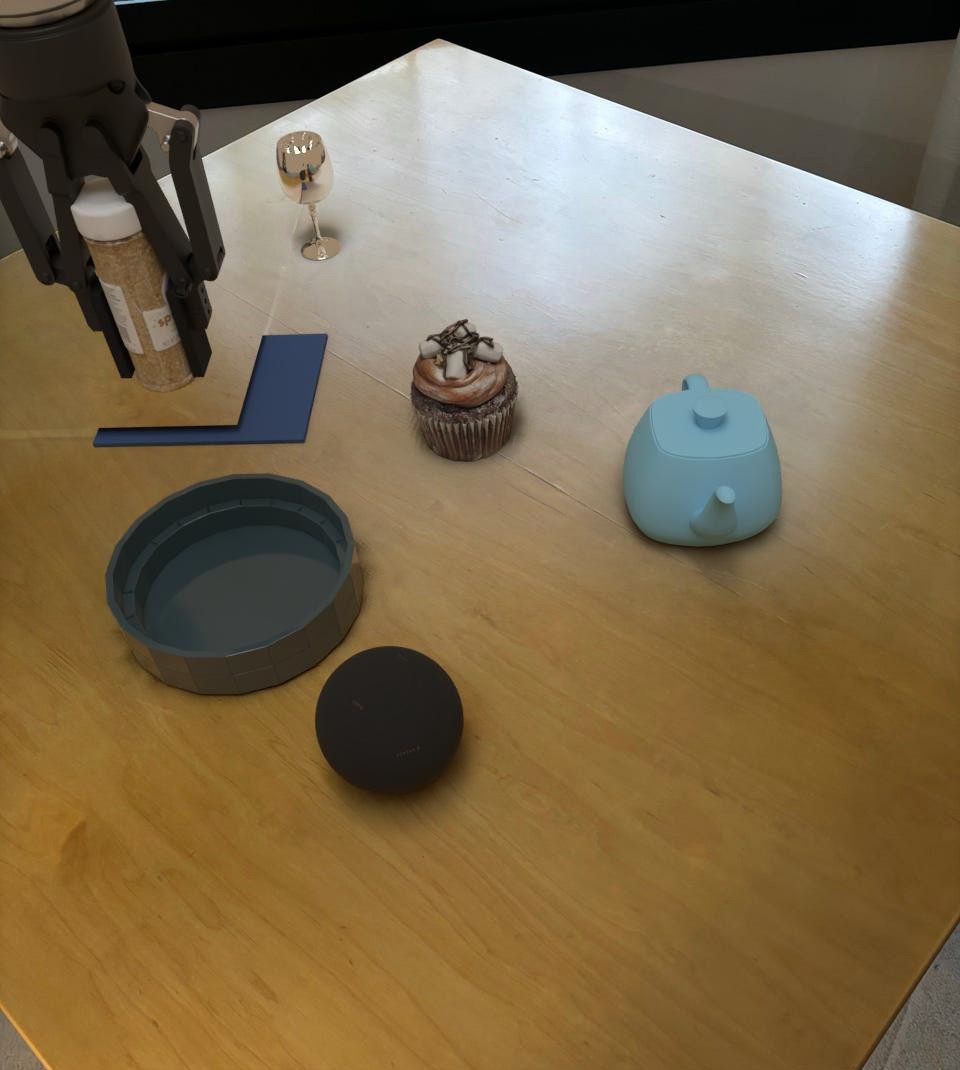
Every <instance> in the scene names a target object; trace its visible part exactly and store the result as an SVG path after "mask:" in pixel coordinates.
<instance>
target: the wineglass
mask: <svg viewBox="0 0 960 1070" xmlns="http://www.w3.org/2000/svg"><path fill="white" fill-rule="evenodd" d="M275 145H276V148H275V165H276V175H277V180H278V183H279V186H280V189H281V191H282V193H283V195H284V196H285V197H286V198H287V199H289V200H290V201H291V202H293V203H295V204H297V205H298V204H299V205H304V206H307V212H308V215H309V216H310V219H311V221H312V224H313V227H314V232H315V237H314V238H312V239H309V240H308V241H306V242H305V243H303V244H302V245H301V247H300V254H301V256H302V257H304V258H305V259H307V260H310V261H325V260H327V259H331V258H332V257H334V256H336V255H337V254H338V253H340V250H341V248H342V245H341V243H340V241H339V240H338V239H336V238H334V237H330V236H329V237H328V236H321V232H320V228H319V222H318V214H319V208H318V207H317V204H318V203H320V202H322V201H324V200H325V199H326V198H327V197H328V196H329V195H330V193H331V191H333V187H334V180H335V179H334V178H335V177H334V168H333V164H332V161H331V158H330V155H329V152H328V149H327V147H326V145H325V143H324V140H323V138H322V136H321V135H320V134H319V133H317V132H314V131H309V130H299V131H293V132H290V133H287V134H284V135H283V136H281V137H280V138H279V139H278V140H277V142H276V144H275Z"/></svg>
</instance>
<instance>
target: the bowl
mask: <svg viewBox="0 0 960 1070" xmlns="http://www.w3.org/2000/svg"><path fill="white" fill-rule="evenodd" d="M111 553H112V554H111V557H110V559H109V562H108V565H107V567H106V571H105V574H104V582H105V583H104V584H105V595H106V605H107V606H108V609H109V611H110V612H111V614H112V616H113V619H114V620H115V622H116V624H117V627H118V628H119V629H120V632H121V633H122V636H123V637H124V639H125V641H126V643H127V644H128V646H129V648H130V650H131V651H132V653H133V655H134V656H135V658H136V660H137V662H138V664H139V665H140V666H141V667H142V668H144V669H145V670H146V671H148V672H149V673H150V674H151V675H153V676H154V677H156V678H157V679H159V680H160V681H162V682H163V683H164V684H165V685H169V686H173V687H176V688H178V689H181V690H186V691H190V692H193V693H196V694H200V695H242V694H246V693H249V692H254V691H258V690H262V689H265V688H269V687H274V686H277V685H280V684H283V683H285V682H287V681H288V680H290V679H292V678H294V677H296V676H297V675H300V674H301V673H304V672H305V671H307V670H309V669H311V668H313V667H315V666H316V665H317V664H318V663H320V662H321V660H323V659H324V658H325V657H326V656H327V655H328V654H329V653H330V652H331V651H332V650H333V649H334V648H336V647H337V646H338V644H340V643H341V642H342V641H343V640H344V638H345V637H346V635H347V633H348V631H349V630H350V628H351V626H352V624H353V623H354V620H355V619H356V617H357V615H358V614H359V612H360V608H361V602H362V596H363V588H364V583H365V582H364V577H363V573H362V568H361V564H360V560H359V555H358V550H357V546H356V543H355V539H354V535H353V532H352V528H351V524H350V520H349V517H348V516H347V514H345V512H344V511H343V510H342V509H341V508H340V506H339V505H338V504H337V502H336V501H335V500H334V499H333V498H332V497H331V495H329V494H328V493H326V492H324V491H323V490H321V489H319V488H317V487H315V486H313V485H311V484H310V483H308V482H307V481H304V480H303V479H297V478H294V477H288V476H284V475H279V474H276V473H269V472H268V473H266V472H265V473H263V472H262V473H261V472H260V473H232V474H227V475H223V476H219V477H214V478H209V479H206V480H202V481H198V482H195V483H193V484H190V485H188V486H187V487H185V488H183V489H180V490H178V491H176V492H173V493H171V494H169V495H168V496H165V497H163V498H162V499H161V500H159V501H158V502H157V503H156V504H154V505H153V506H151V507H150V508H148V510H146V511H145V512H144V513H143V514H141V515H139V516H138V517H137V518H136V519H135V520H134V521H133V522H132V524H130V526H129V528H128V529H127V530H126V531H125V533H123V535H122V536H121V538H120V539H119V540H118V542H117V543H116V544H115V546H114V548H113V550H112V552H111Z"/></svg>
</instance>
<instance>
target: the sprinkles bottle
mask: <svg viewBox="0 0 960 1070" xmlns="http://www.w3.org/2000/svg"><path fill="white" fill-rule="evenodd" d="M71 211H72V214H73V217H74V220H75V223H76V225H77V228H78V231H79V232H80V233H81V234H82V235H83V238H84V240H85V241H86V243H87V245H88V248H89V251H90V254H91V256H92V259H93V262H94V264H95V266H96V270H95V271H96V273H97V276H98V278H99V280H100V283H101V285H102V288H103V290H104V293H105V296H106V298H107V301H108V303H109V306H110V309H111V311H112V314H113V316H114V319H115V322H116V324H117V327H118V330H119V332H120V335H121V337H122V340H123V342H124V345H125V346H126V347H127V349H128V351H129V354H130V357H131V359H132V362H133V365H134V367H135V377H136V380H137V383H138V384H139V385H140V386H141V387H142V388H143V389H145V390H147V391H149V392H153V393H161V394H164V393H165V394H166V393H173V392H175V391H178V390H182V389H183V388H186V387H187V386H189V385H190V384H192V383H193V382H194V381H195V380H196V378H197V377H193V375H192V372H191V369H190V366H189V363H188V360H187V357H186V354H185V351H184V348H183V345H182V342H181V339H180V336H179V333H178V330H177V327H176V324H175V321H174V318H173V316H172V313H171V310H170V307H169V304H168V301H167V298H166V295H165V294H166V291H167V289H168V286H169V284H170V281H171V278H170V276H169V275H168V273H167V271H166V270H165V268H164V266H163V264H162V263H161V261H160V259H159V257H158V256H157V254H156V252H155V251H154V249H153V247H152V245H151V244H150V242H149V240H148V238H147V237H146V235H145V233H144V231H143V230H142V228H141V225H140V223H139V220H138V217H137V214H136V212H135V209H134V207H133V205H132V204H130V203H127V202H126V200H125V199H124V197H123V196H119V195H118V194H117V193H116V191H115V190H114V188H113V186H112V185H111V183H110V181H109V179H108V178H105V177H100V176H99V177H97V178H94V179H91V180H89V181H87V182H85V184H84V186H83V187H82V189H81V191H80V193H79V195H78V197H77V199H76V200H75V202H74V204H73V205H72V206H71Z"/></svg>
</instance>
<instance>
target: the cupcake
mask: <svg viewBox="0 0 960 1070" xmlns="http://www.w3.org/2000/svg"><path fill="white" fill-rule="evenodd" d="M418 350H419V355H418V356H417V358H416V361H415V363H414V365H413V368H412V381H411V382H410V393H409V396H410V397H409V399H410V405H411V407H412V409H413V412H414V414H415V416H416V418H417V421H418V423H419V425H420V428H421V431H422V434H423V436H424V438H425V441H426V443H427V445H428V447H429V449H430V450H432V451H433V452H435V453H436V455H438V456H439V457H442V458H443V459H447V460H451V461H454V462H472V461H473V462H474V461H479V460H481V459H484V458H488V457H489V458H490V457H491V456H493V455H495V454H496V453H497V452H499V451H500V450H501V449H502V447H503V446H505V445H506V443H507V442H508V441H509V439H510V435H511V432H512V423H513V417H514V410H515V406H516V402H517V399H518V395H519V387H520V386H519V381H517V380H516V377H517V376H516V375H515V373H514V370H513V368H512V367H511V365H510V364H509V362H508V360H506V357H505V356H504V355H503V354H504V347H503V345H502V344H501V343H498V342H495V341H494V338H492V337H491V336H487V335H486V336H480V333H479V332H477V326H475V324H474V323H473V322H469V319H468V318H465V319H462V320H459V319H458V320H457V321H455V322H454V323H451V324H450V325H448V326H446V327H445V328H444V329H443V330H442V331H441V332H440V333H434V334H429V335H428V336H427V338H426V339H424V340H422V341H419V342H418Z"/></svg>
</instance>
